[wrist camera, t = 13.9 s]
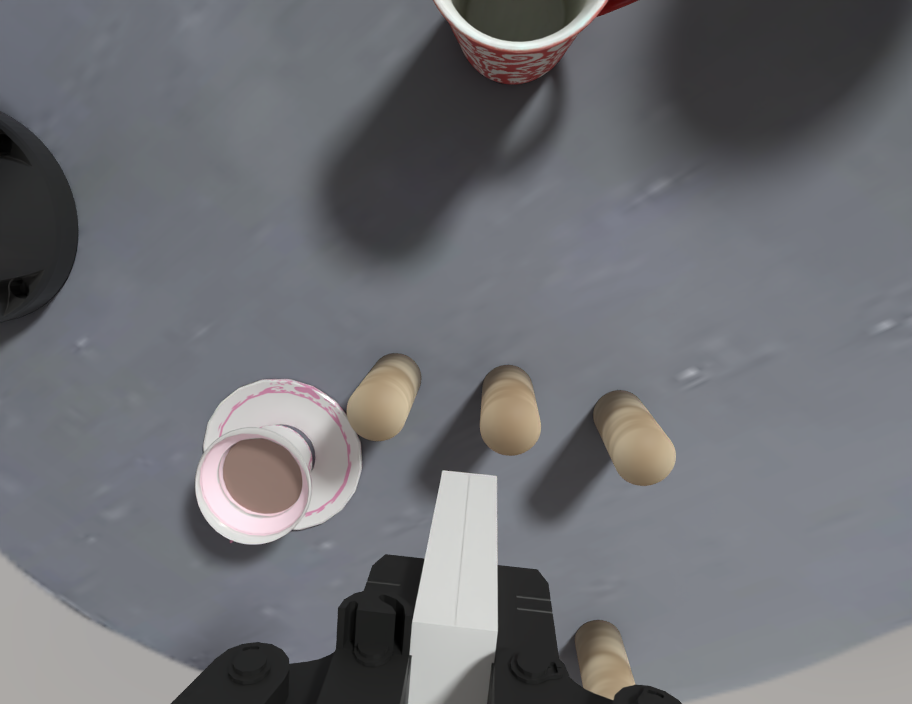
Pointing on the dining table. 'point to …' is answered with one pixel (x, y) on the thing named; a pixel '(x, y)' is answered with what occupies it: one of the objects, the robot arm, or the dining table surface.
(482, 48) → the mug
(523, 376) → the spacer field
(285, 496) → the teacup
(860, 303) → the dining table surface
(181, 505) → the dining table surface
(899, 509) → the dining table surface
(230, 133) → the dining table surface
